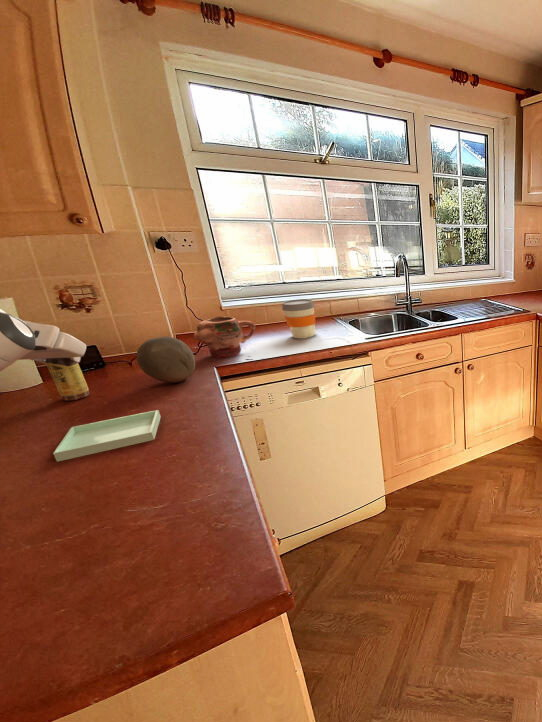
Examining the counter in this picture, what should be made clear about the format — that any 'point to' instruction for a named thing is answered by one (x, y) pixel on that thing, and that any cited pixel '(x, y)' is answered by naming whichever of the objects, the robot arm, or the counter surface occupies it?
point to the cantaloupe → (166, 359)
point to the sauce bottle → (67, 378)
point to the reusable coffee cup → (300, 317)
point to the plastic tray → (108, 435)
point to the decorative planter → (223, 335)
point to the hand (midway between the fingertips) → (63, 360)
